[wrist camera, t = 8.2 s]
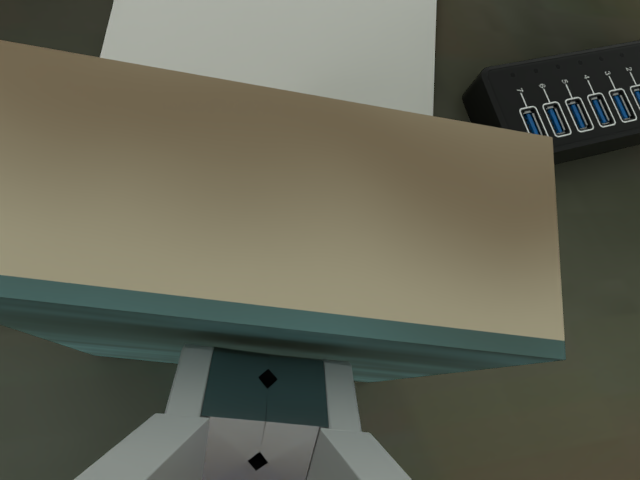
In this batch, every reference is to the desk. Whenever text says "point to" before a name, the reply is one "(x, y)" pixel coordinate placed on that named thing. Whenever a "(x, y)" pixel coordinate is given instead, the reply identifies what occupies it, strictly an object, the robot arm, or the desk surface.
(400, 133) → the beige rectangular block
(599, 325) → the desk surface
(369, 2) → the mat
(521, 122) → the multiport hub
